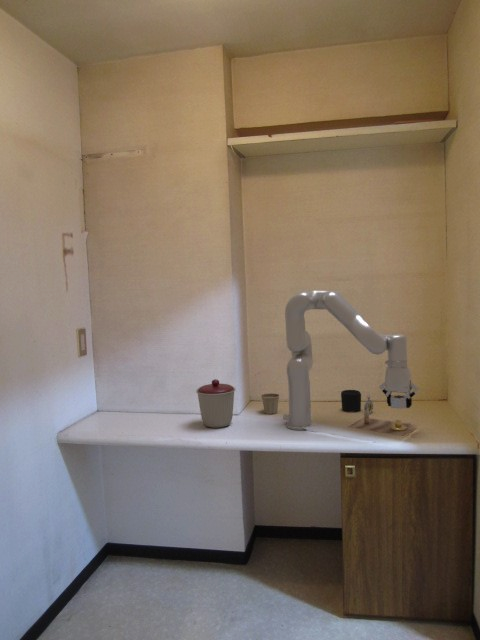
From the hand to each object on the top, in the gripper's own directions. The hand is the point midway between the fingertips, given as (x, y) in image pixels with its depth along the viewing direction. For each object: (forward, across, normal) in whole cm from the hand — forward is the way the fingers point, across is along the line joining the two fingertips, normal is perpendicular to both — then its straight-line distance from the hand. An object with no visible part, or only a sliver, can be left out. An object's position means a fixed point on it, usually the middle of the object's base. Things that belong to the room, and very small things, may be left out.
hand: (399, 406), depth 203 cm
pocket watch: (+11, -18, +15) cm, 25 cm away
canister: (+9, -74, -31) cm, 81 cm away
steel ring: (0, 0, 0) cm, 0 cm away
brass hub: (+10, -1, 0) cm, 10 cm away
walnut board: (+11, -8, 0) cm, 13 cm away
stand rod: (+9, -15, 0) cm, 17 cm away
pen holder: (+11, -30, +17) cm, 36 cm away
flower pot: (+10, -64, -2) cm, 64 cm away
